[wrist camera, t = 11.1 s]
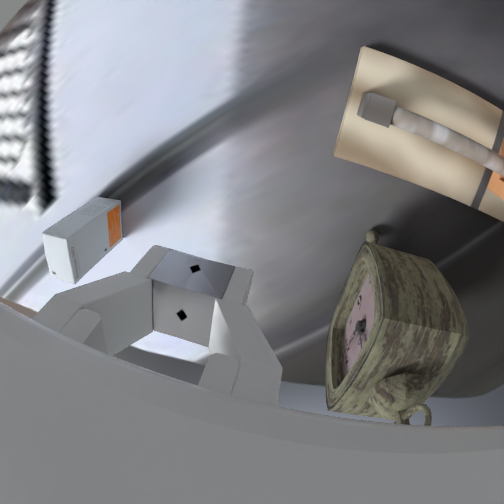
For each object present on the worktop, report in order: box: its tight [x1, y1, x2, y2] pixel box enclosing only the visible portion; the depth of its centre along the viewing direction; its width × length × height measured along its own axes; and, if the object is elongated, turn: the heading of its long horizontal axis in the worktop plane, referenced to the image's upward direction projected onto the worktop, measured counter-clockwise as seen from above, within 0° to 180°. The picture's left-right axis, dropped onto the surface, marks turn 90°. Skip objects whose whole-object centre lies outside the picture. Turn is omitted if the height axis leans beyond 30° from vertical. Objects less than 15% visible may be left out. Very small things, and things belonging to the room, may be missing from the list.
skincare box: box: [42, 197, 123, 284], centre depth 36 cm, size 6×4×12 cm
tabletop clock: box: [326, 230, 469, 426], centre depth 28 cm, size 14×9×25 cm, turn 170°
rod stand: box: [333, 46, 504, 222], centre depth 25 cm, size 12×26×8 cm, turn 78°
